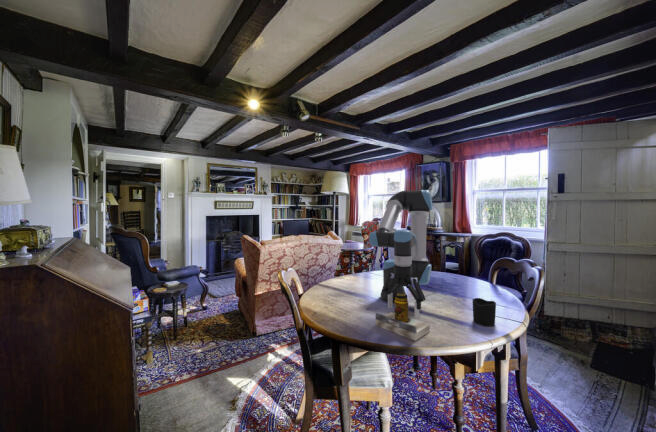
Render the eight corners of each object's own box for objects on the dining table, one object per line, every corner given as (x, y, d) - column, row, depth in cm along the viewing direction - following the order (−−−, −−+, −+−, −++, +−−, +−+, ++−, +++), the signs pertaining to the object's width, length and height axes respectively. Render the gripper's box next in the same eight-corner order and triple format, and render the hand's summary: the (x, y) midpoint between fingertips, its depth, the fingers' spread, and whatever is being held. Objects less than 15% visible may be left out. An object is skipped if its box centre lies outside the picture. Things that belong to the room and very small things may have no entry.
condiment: (393, 323, 118) (392, 296, 117) (394, 315, 126) (394, 290, 125) (410, 325, 115) (410, 297, 115) (410, 317, 123) (410, 291, 123)
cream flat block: (375, 325, 123) (375, 313, 122) (390, 317, 131) (390, 306, 131) (414, 341, 108) (414, 327, 108) (429, 331, 116) (429, 318, 116)
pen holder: (487, 318, 129) (487, 297, 129) (500, 326, 120) (500, 304, 119) (468, 318, 129) (468, 298, 128) (480, 327, 119) (480, 305, 119)
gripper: (375, 262, 126) (375, 306, 127) (424, 270, 107) (425, 322, 108) (384, 259, 131) (385, 302, 132) (433, 267, 113) (433, 317, 113)
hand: (403, 311), depth 120 cm, fingers open, 13 cm apart
